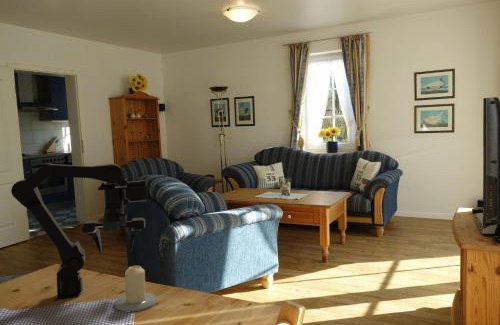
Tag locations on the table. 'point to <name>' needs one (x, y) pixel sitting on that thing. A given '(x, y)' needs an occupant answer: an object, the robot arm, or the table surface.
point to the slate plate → (124, 306)
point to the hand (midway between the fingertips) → (115, 251)
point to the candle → (135, 285)
